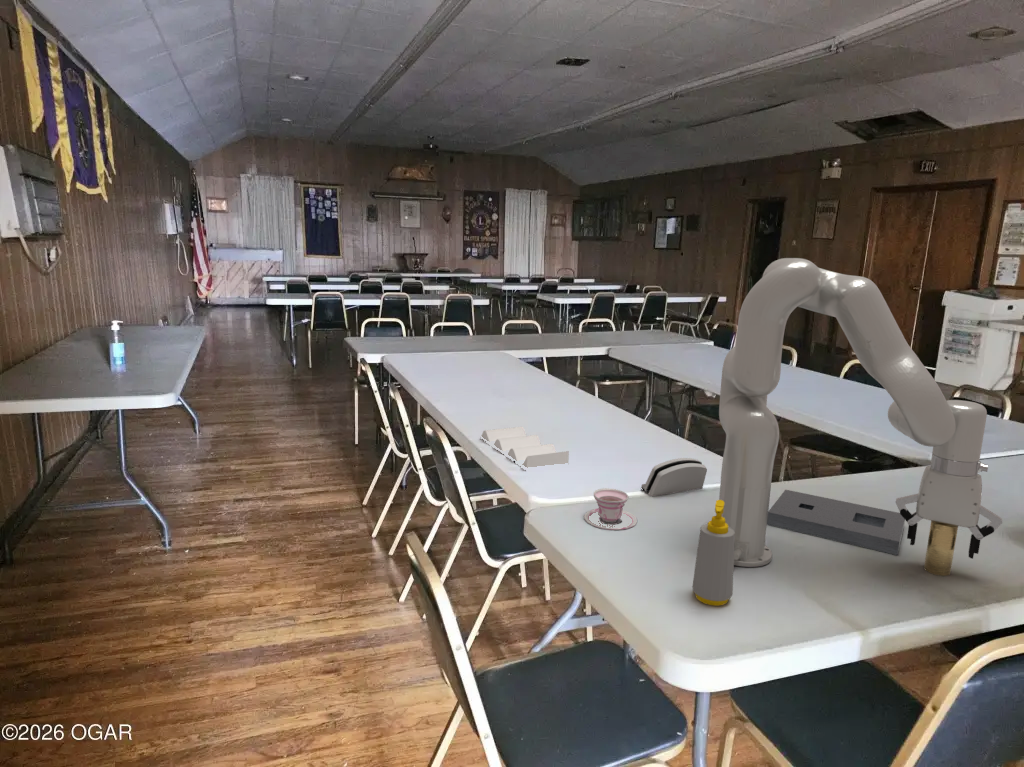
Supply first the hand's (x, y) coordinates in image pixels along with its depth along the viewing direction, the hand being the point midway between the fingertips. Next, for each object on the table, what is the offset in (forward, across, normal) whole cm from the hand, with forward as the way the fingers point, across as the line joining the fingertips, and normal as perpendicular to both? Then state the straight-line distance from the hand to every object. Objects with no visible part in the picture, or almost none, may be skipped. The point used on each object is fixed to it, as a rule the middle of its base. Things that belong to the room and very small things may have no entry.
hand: (941, 549), depth 129 cm
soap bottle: (+4, +33, +37) cm, 50 cm away
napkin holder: (+5, +58, -11) cm, 59 cm away
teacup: (+5, +63, +16) cm, 65 cm away
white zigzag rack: (+5, +108, -15) cm, 109 cm away
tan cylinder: (+4, 0, 0) cm, 5 cm away
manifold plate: (+4, +20, -12) cm, 24 cm away
